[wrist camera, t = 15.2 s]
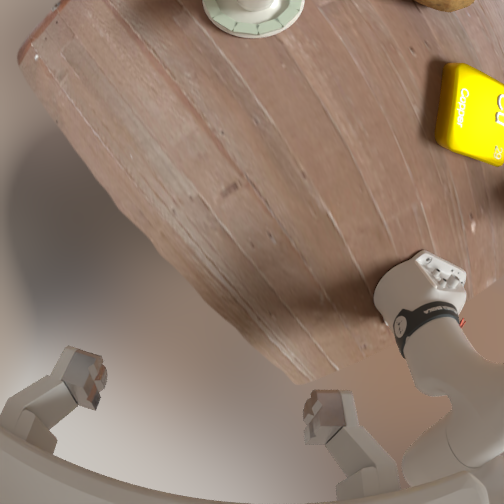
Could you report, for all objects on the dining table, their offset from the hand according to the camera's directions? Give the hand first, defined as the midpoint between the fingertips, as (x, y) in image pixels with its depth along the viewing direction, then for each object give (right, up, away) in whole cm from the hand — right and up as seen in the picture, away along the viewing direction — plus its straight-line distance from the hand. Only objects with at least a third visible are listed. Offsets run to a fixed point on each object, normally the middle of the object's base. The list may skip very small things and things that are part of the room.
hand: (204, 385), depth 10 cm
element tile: (+39, +29, +25) cm, 54 cm away
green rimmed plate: (+2, +40, +19) cm, 44 cm away
